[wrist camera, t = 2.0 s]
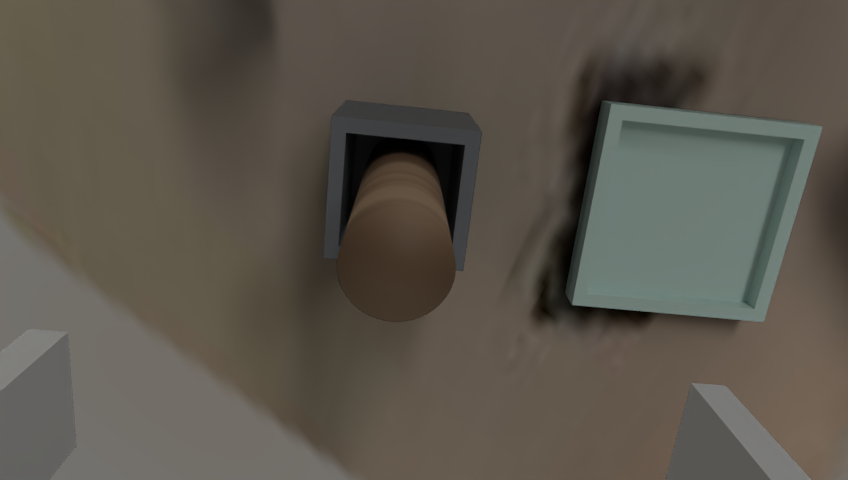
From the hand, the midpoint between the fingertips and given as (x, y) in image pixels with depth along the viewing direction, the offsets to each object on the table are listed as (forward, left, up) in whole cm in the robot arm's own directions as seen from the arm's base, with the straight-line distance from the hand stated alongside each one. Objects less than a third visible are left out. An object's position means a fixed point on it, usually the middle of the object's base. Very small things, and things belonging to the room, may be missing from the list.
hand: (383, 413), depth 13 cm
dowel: (0, 0, -24) cm, 24 cm away
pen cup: (0, 0, -25) cm, 25 cm away
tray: (+1, +17, -25) cm, 30 cm away
